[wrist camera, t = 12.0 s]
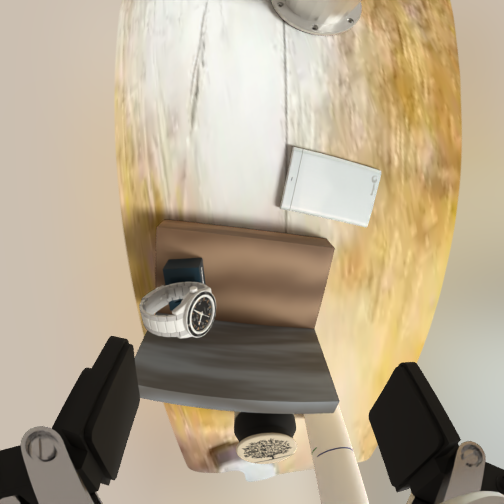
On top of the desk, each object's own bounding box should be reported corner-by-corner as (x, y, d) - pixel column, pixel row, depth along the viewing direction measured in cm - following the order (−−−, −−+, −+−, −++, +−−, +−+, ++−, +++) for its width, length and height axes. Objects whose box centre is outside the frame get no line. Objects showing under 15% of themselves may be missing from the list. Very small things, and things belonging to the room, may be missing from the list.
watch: (222, 296, 38) (215, 349, 28) (162, 298, 38) (138, 349, 28) (218, 255, 36) (208, 299, 26) (155, 259, 36) (125, 301, 26)
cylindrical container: (344, 404, 52) (378, 508, 28) (318, 422, 54) (342, 524, 30) (322, 391, 50) (354, 506, 27) (295, 411, 52) (314, 522, 28)
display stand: (164, 219, 39) (110, 273, 22) (326, 238, 40) (379, 303, 23) (162, 309, 43) (126, 394, 26) (305, 325, 45) (333, 413, 28)
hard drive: (382, 170, 36) (294, 146, 35) (367, 228, 39) (280, 209, 37) (377, 169, 38) (292, 146, 36) (363, 225, 40) (279, 207, 39)
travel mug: (230, 347, 46) (225, 439, 29) (279, 338, 45) (295, 428, 28) (242, 381, 48) (243, 468, 32) (287, 373, 48) (302, 459, 31)
